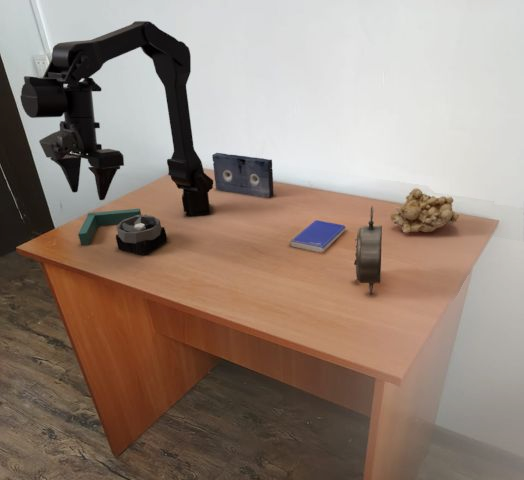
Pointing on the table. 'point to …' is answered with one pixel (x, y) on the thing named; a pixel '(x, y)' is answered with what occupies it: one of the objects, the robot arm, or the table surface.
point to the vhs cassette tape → (243, 174)
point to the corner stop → (103, 222)
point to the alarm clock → (369, 254)
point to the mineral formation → (424, 212)
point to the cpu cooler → (140, 234)
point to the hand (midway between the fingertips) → (88, 196)
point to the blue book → (318, 236)
